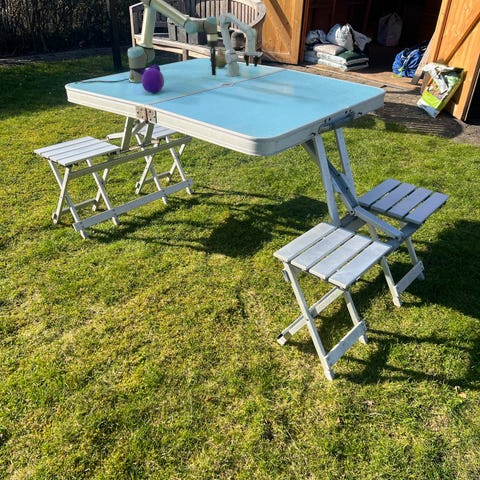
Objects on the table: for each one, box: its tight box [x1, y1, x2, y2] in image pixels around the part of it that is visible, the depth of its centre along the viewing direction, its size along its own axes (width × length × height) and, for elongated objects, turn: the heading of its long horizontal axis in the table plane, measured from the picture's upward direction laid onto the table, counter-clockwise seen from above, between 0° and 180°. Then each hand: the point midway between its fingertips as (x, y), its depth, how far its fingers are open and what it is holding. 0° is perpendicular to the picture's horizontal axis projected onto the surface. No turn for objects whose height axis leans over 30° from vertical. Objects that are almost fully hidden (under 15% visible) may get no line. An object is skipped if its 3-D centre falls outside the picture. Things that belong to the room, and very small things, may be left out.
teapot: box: [209, 48, 227, 69], centre depth 380 cm, size 21×12×15 cm, turn 120°
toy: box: [134, 64, 165, 94], centre depth 304 cm, size 16×18×27 cm
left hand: (214, 74), depth 336 cm, fingers closed on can, 4 cm apart
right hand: (251, 66), depth 338 cm, fingers open, 7 cm apart
